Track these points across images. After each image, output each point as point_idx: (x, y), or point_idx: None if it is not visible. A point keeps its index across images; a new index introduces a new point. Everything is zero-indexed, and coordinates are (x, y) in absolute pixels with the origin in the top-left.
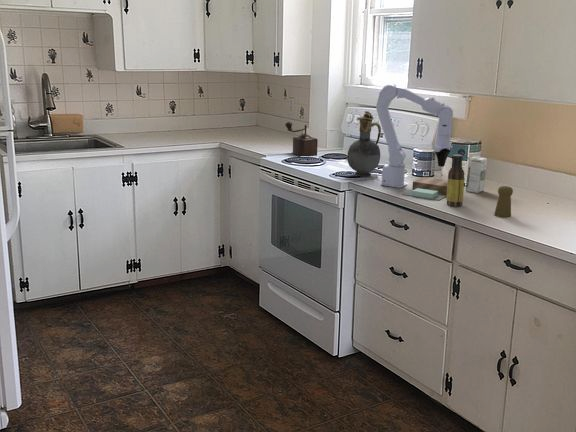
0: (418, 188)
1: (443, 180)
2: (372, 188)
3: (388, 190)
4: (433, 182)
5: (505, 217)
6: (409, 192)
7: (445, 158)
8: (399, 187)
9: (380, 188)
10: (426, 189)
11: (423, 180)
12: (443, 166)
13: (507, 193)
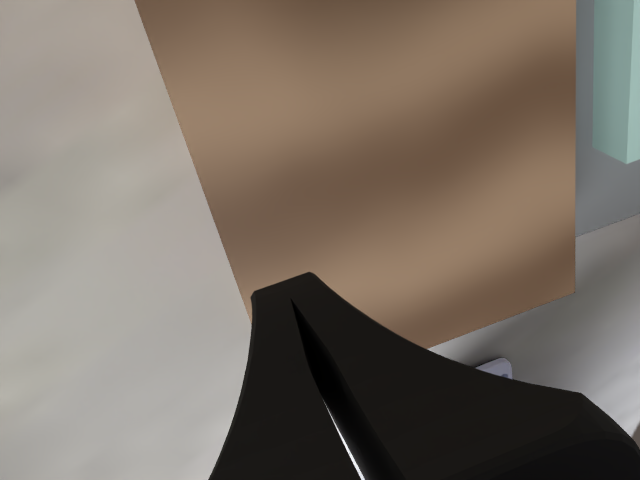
0: (636, 146)
1: (247, 146)
2: (628, 425)
3: (621, 339)
4: (467, 138)
5: None
6: (622, 193)
7: (349, 364)
8: (508, 361)
9: None
10: (632, 62)
11: (451, 276)
12: (288, 279)
13: None
